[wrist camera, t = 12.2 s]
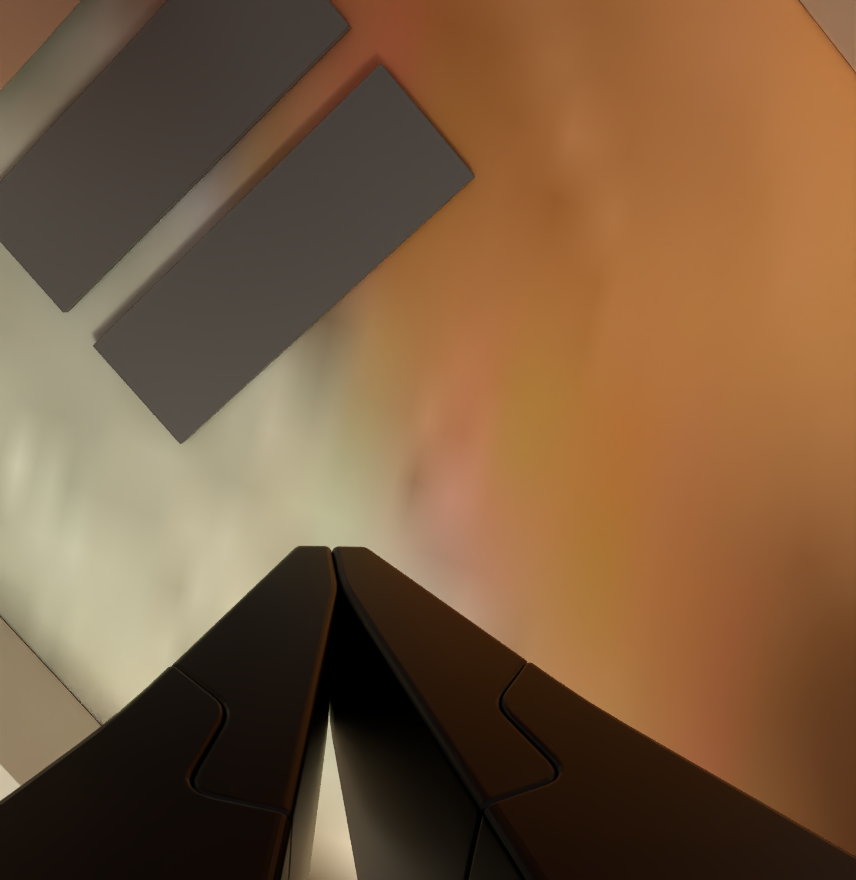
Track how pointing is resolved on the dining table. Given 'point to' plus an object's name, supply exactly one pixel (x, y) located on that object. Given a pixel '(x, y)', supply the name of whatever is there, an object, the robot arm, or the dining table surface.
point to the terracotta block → (27, 30)
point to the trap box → (217, 233)
